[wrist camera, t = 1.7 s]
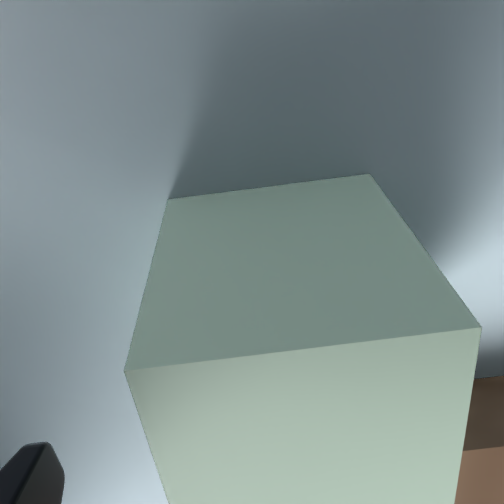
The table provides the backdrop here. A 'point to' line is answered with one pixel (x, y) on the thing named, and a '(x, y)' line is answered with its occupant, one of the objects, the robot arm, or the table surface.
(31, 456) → the robot arm
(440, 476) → the sage block
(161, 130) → the table surface
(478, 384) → the walnut base
